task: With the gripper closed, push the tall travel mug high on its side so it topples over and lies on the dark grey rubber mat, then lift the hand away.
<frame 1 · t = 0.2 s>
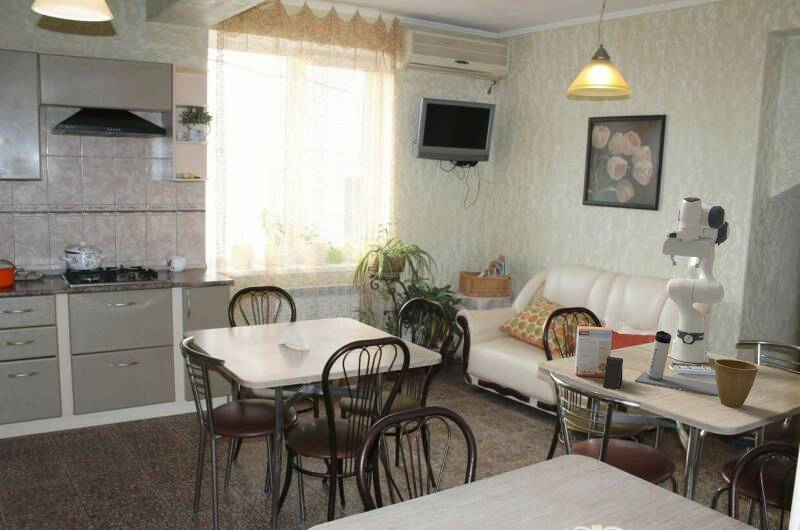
hand: (685, 266, 307), 48 cm above the table, tool pointing down, fingers open, 8 cm apart
cracker box: (591, 375, 303), on the table
plant pot: (732, 405, 269), on the table
door stopper: (612, 386, 287), on the table
travel mug: (654, 377, 299), point 1 cm above the table, touching rubber mat
rubber mat: (678, 384, 294), on the table
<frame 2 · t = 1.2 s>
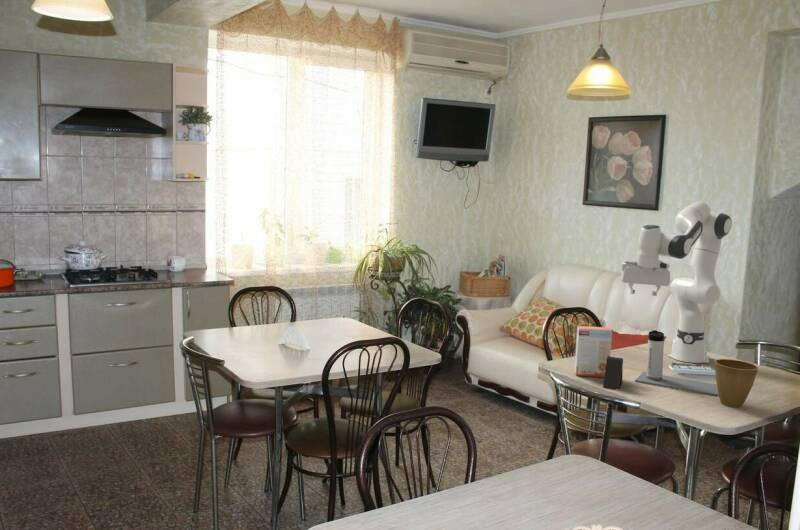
hand: (643, 294, 303), 35 cm above the table, tool pointing down, fingers open, 8 cm apart
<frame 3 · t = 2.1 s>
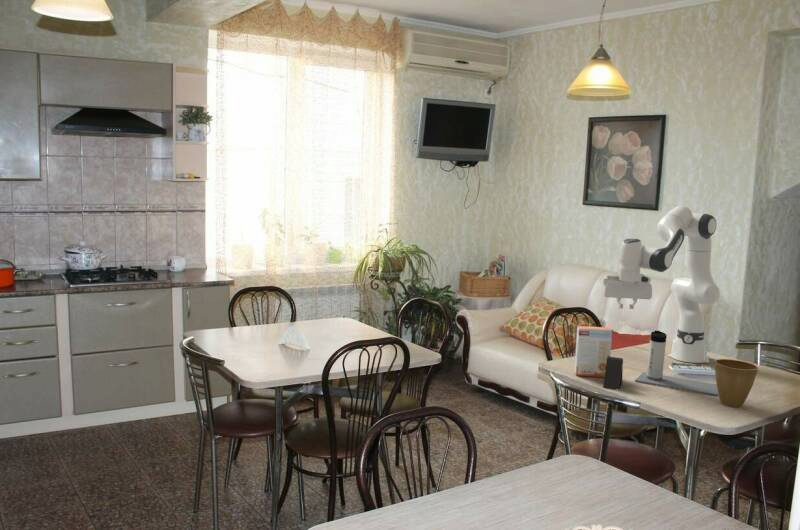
hand: (626, 308, 303), 29 cm above the table, tool pointing down, fingers open, 3 cm apart
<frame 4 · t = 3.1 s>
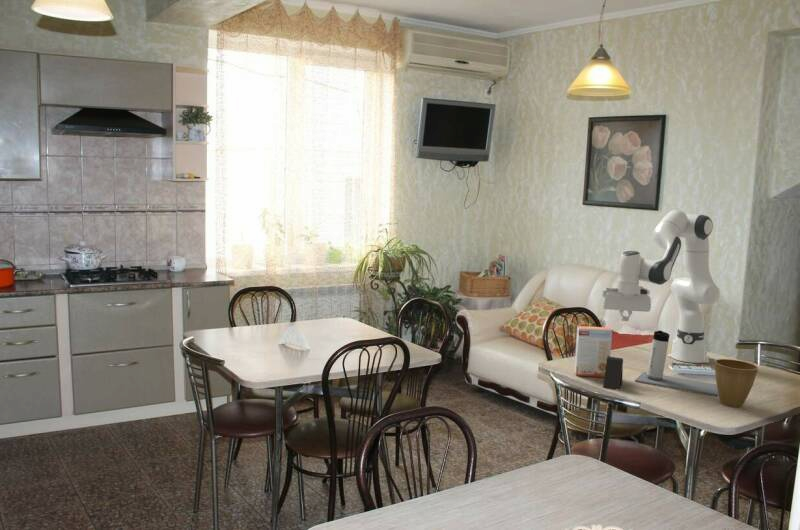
hand: (624, 320, 303), 24 cm above the table, tool pointing down, fingers closed
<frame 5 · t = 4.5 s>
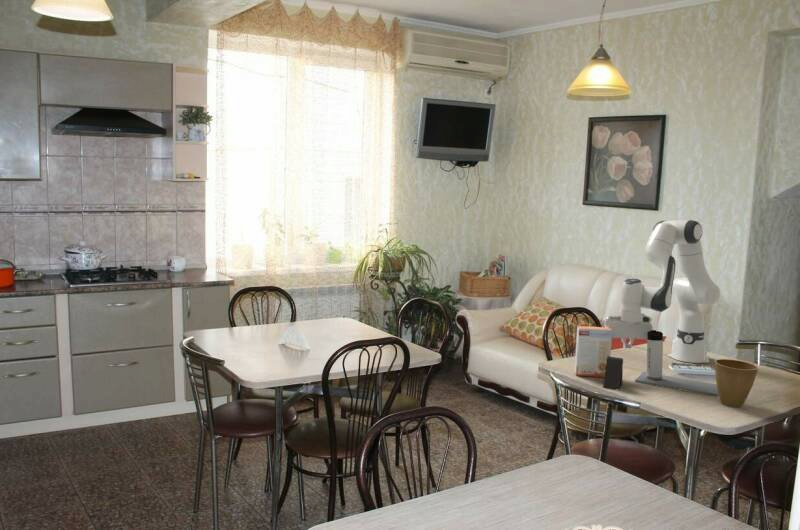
hand: (627, 348, 304), 12 cm above the table, tool pointing down, fingers closed
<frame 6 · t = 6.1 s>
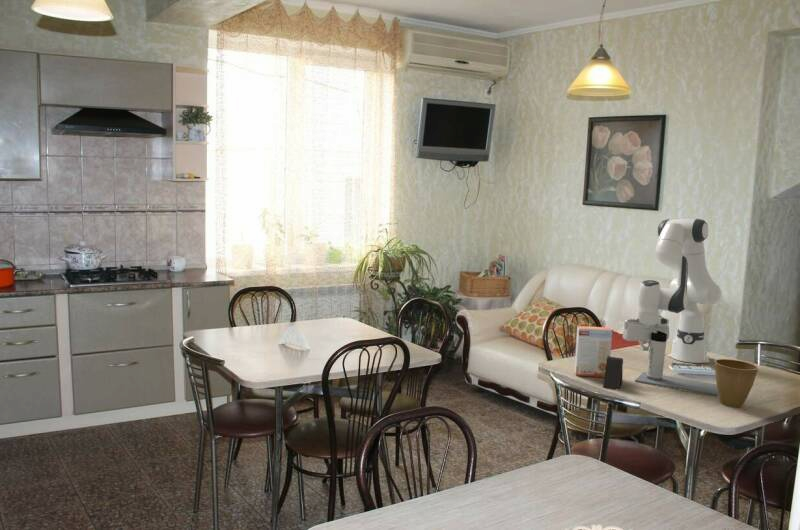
hand: (644, 350, 300), 12 cm above the table, tool pointing down, fingers closed
travel mug: (654, 378, 299), point 1 cm above the table, touching gripper, rubber mat
everything else where it was.
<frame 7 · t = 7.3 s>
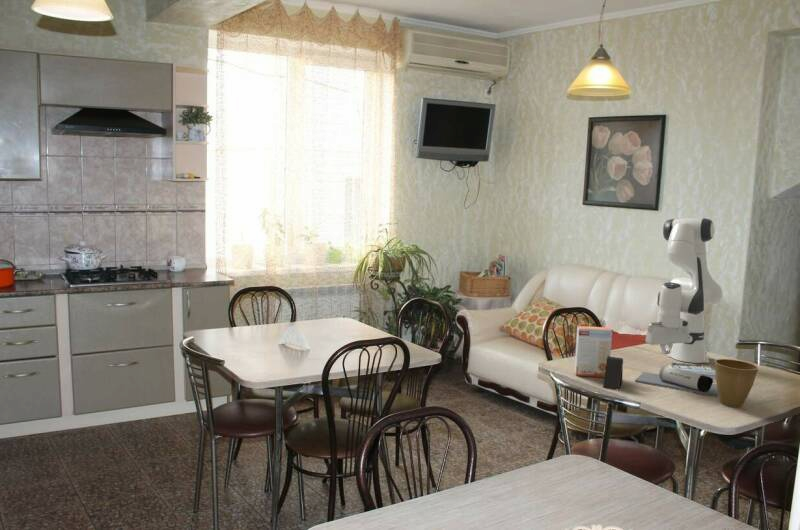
hand: (665, 353, 296), 12 cm above the table, tool pointing down, fingers closed
travel mug: (662, 372, 297), point 4 cm above the table, touching rubber mat
everything else where it was.
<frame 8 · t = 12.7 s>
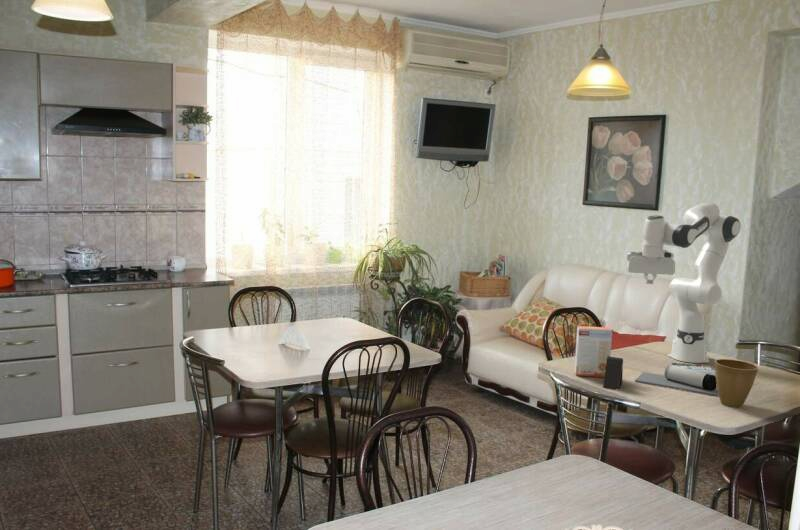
hand: (649, 283, 310), 39 cm above the table, tool pointing down, fingers closed
travel mug: (667, 371, 299), point 4 cm above the table, touching rubber mat
everything else where it was.
at the end: travel mug tilted 90°; travel mug touching rubber mat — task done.
